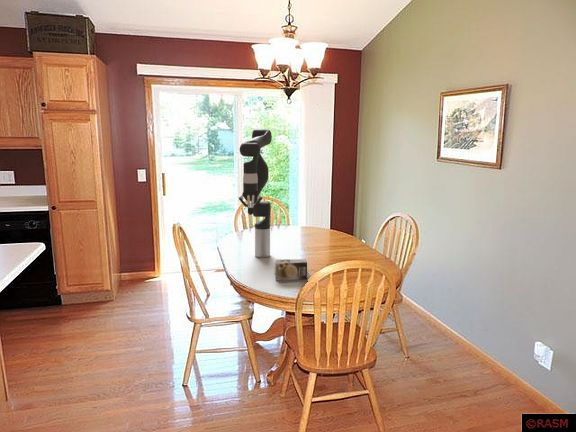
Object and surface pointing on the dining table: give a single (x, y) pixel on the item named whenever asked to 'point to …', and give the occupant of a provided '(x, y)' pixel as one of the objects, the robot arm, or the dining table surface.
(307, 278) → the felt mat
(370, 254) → the dining table surface
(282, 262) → the coffee box
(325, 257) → the dining table surface
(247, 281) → the dining table surface
